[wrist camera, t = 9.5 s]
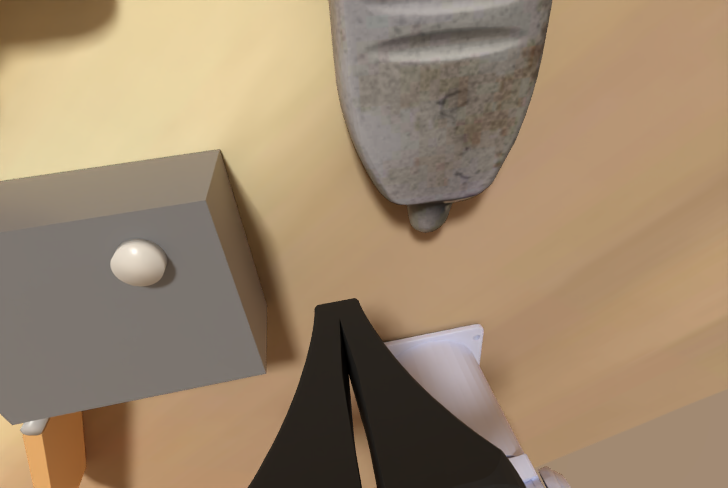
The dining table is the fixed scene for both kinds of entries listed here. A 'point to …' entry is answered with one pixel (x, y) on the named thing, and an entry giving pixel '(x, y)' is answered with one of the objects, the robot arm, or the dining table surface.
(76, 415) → the side door
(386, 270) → the dining table surface
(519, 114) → the handheld device
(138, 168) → the grey box with knob
